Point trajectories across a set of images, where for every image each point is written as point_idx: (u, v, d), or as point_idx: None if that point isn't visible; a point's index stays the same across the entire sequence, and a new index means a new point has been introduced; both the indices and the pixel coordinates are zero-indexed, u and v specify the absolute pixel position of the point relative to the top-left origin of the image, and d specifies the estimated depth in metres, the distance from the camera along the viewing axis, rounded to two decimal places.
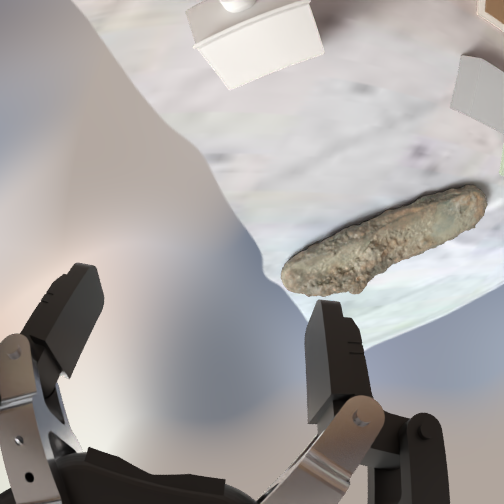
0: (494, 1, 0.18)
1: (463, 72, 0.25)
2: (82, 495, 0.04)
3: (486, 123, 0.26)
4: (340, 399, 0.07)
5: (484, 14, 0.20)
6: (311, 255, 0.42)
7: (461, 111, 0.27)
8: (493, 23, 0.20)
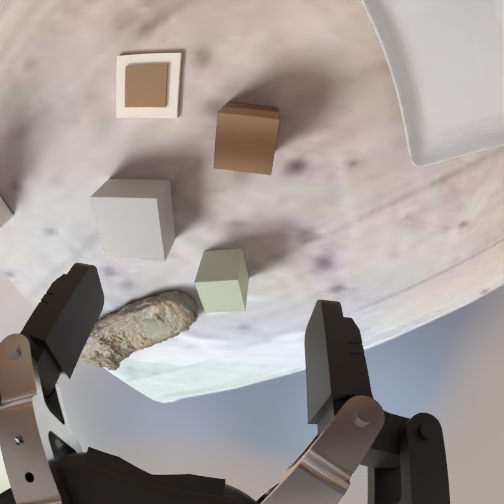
0: (139, 81, 0.26)
1: None
2: (82, 495, 0.04)
3: (126, 256, 0.34)
4: (340, 399, 0.07)
5: (125, 111, 0.28)
6: None
7: None
8: (141, 115, 0.28)
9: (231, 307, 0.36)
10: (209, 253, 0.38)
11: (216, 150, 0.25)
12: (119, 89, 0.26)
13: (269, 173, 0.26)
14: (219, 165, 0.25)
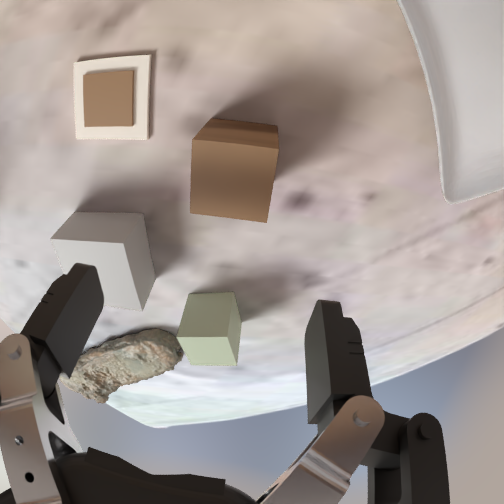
0: (100, 93, 0.19)
1: None
2: (82, 495, 0.04)
3: None
4: (340, 399, 0.07)
5: (85, 132, 0.21)
6: None
7: None
8: (104, 137, 0.22)
9: (220, 361, 0.30)
10: (195, 297, 0.32)
11: (192, 190, 0.18)
12: (77, 104, 0.20)
13: (264, 220, 0.20)
14: (197, 209, 0.19)
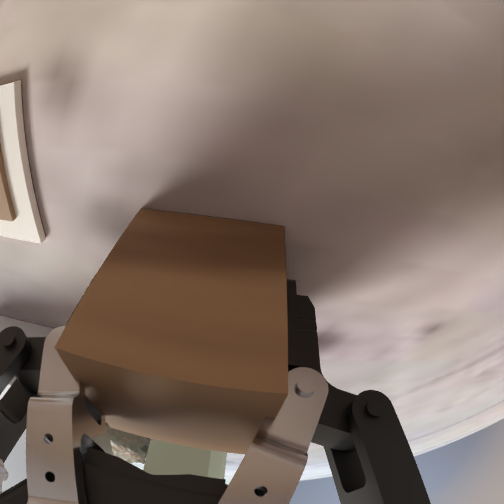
0: None
1: None
2: (82, 495, 0.04)
3: None
4: None
5: None
6: None
7: None
8: None
9: None
10: None
11: None
12: None
13: None
14: (121, 428, 0.08)
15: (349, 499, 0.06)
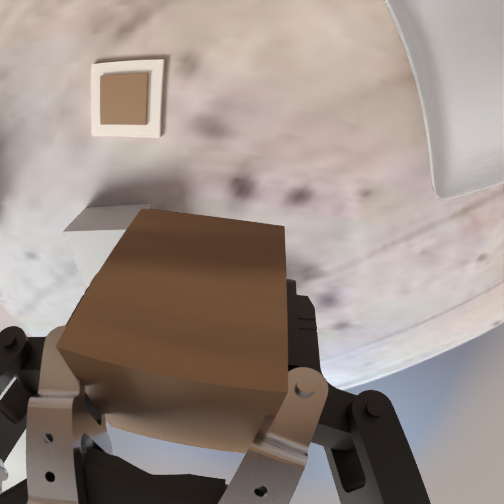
0: (116, 93, 0.22)
1: None
2: (82, 495, 0.04)
3: None
4: None
5: (101, 129, 0.24)
6: None
7: None
8: (119, 134, 0.24)
9: None
10: None
11: None
12: (94, 103, 0.22)
13: None
14: (122, 427, 0.08)
15: (349, 499, 0.06)
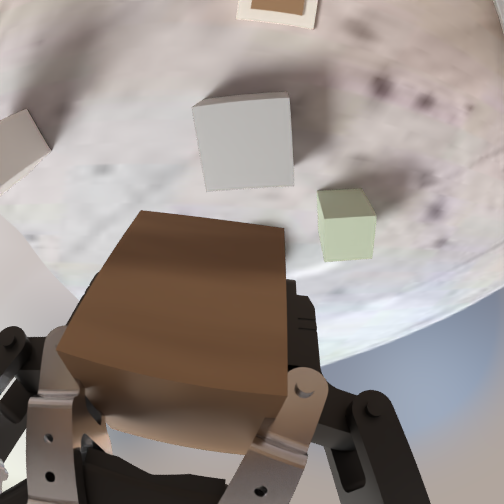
0: None
1: None
2: (82, 495, 0.04)
3: (239, 187, 0.27)
4: None
5: (249, 14, 0.21)
6: None
7: None
8: (269, 20, 0.21)
9: (358, 254, 0.29)
10: (325, 192, 0.31)
11: None
12: None
13: None
14: (122, 429, 0.08)
15: (349, 499, 0.06)
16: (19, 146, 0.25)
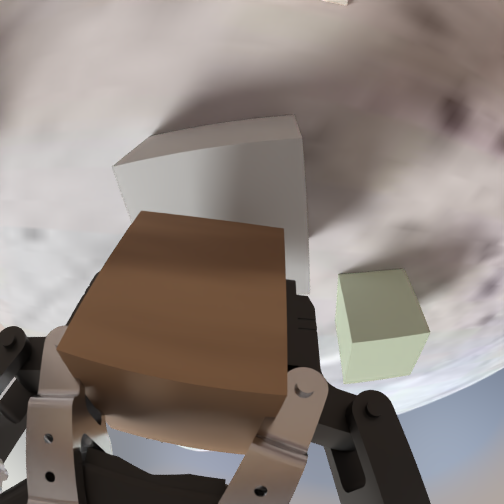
0: None
1: None
2: (82, 495, 0.04)
3: None
4: None
5: None
6: None
7: None
8: None
9: (392, 373, 0.18)
10: (352, 279, 0.20)
11: None
12: None
13: None
14: (122, 428, 0.08)
15: (349, 499, 0.06)
16: None
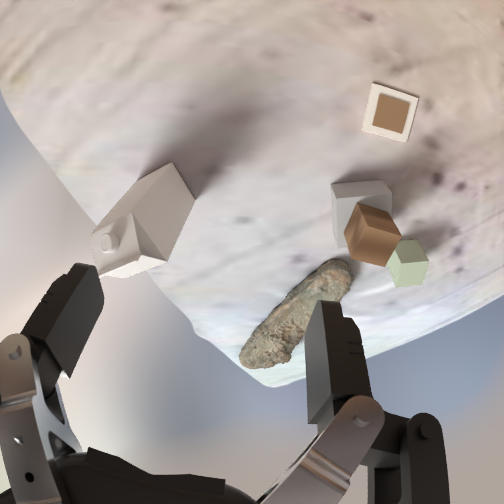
0: (386, 108, 0.34)
1: (332, 203, 0.43)
2: (82, 495, 0.04)
3: None
4: (340, 399, 0.07)
5: (370, 128, 0.36)
6: (244, 351, 0.63)
7: (335, 239, 0.44)
8: (382, 135, 0.37)
9: (415, 282, 0.45)
10: None
11: (357, 248, 0.36)
12: (369, 109, 0.35)
13: (384, 265, 0.37)
14: (356, 257, 0.36)
15: None
16: (178, 198, 0.40)
